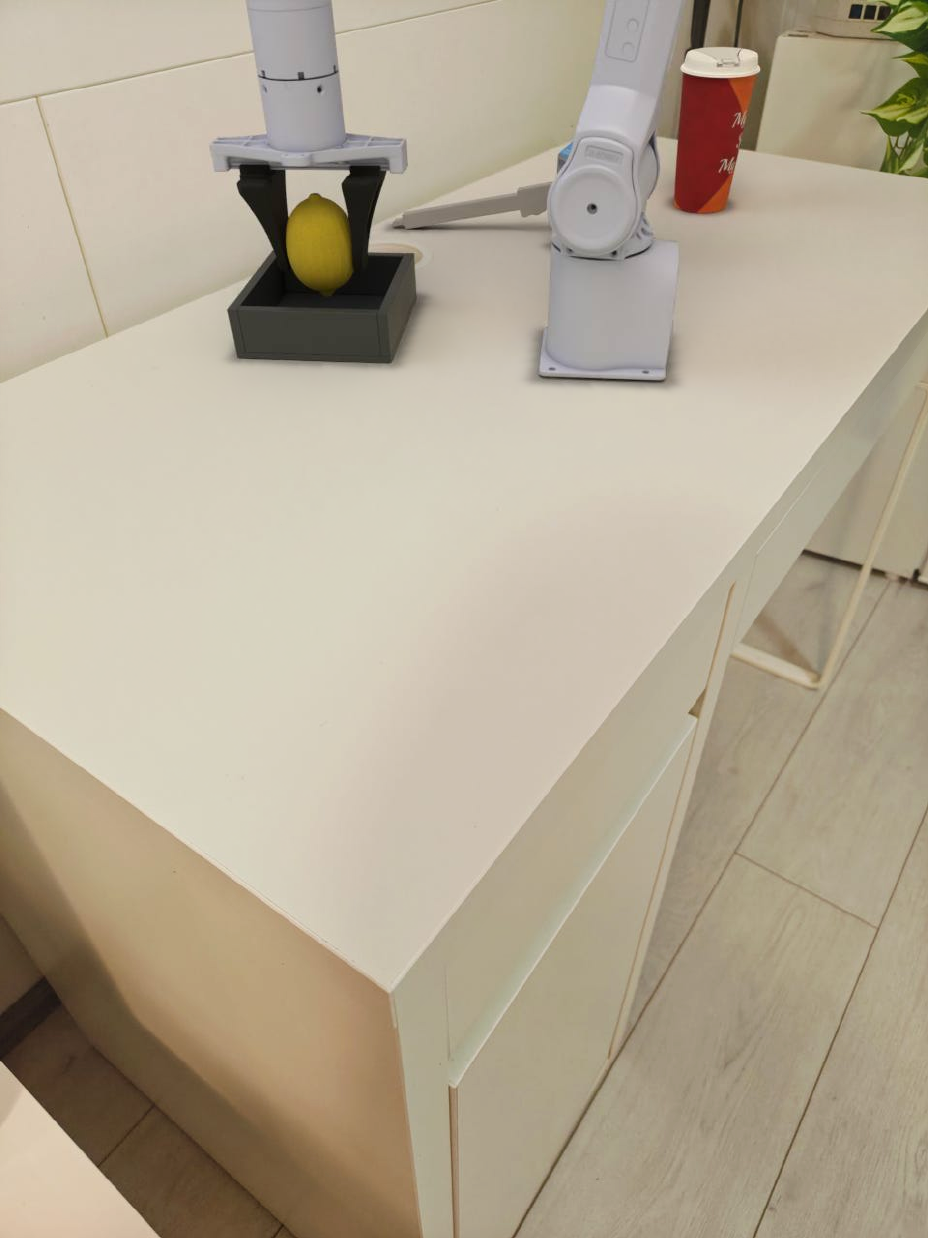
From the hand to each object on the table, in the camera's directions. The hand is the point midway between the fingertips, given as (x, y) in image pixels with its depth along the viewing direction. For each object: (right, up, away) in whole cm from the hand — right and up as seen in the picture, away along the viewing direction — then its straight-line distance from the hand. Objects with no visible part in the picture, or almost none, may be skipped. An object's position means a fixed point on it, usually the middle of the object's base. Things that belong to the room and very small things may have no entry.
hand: (323, 266), depth 71 cm
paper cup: (+37, +16, +24) cm, 47 cm away
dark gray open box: (0, -4, +3) cm, 5 cm away
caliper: (+14, +12, +20) cm, 27 cm away
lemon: (0, -2, +2) cm, 3 cm away
